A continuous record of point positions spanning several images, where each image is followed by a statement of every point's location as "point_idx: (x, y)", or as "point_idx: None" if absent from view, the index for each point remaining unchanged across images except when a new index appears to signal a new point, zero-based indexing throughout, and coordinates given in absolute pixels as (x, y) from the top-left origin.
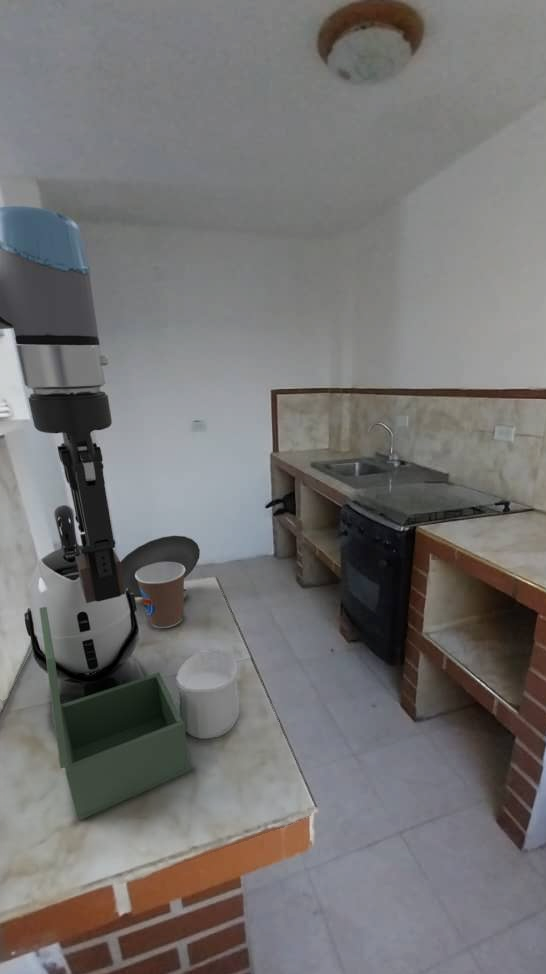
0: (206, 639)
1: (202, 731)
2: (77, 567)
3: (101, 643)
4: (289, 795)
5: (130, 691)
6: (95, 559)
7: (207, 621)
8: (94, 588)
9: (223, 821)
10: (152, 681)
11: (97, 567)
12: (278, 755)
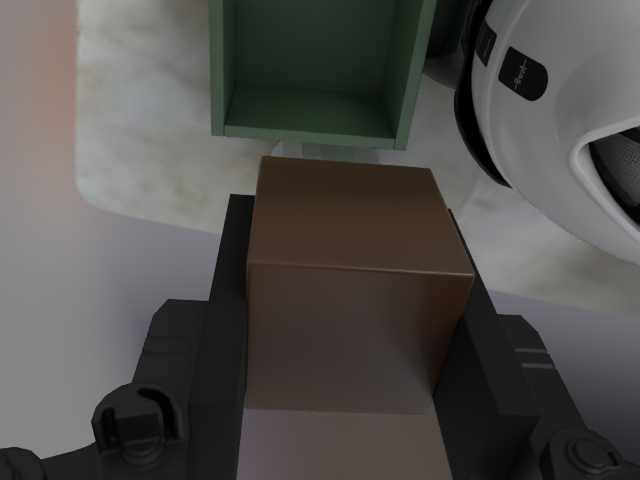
0: (539, 249)
1: (278, 145)
2: (446, 232)
3: (475, 82)
4: (103, 193)
5: (404, 73)
6: (179, 377)
7: (592, 274)
8: (224, 233)
9: (102, 92)
10: (395, 126)
11: (154, 345)
12: (182, 216)
